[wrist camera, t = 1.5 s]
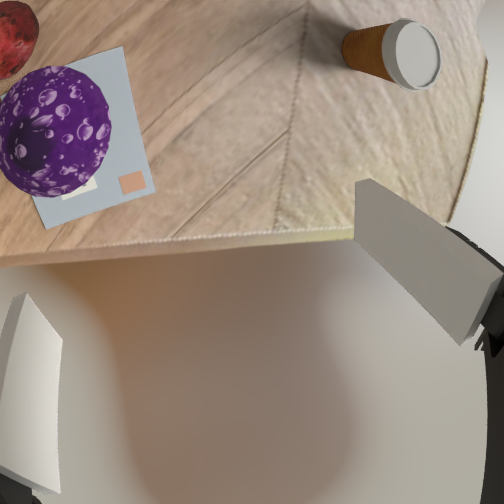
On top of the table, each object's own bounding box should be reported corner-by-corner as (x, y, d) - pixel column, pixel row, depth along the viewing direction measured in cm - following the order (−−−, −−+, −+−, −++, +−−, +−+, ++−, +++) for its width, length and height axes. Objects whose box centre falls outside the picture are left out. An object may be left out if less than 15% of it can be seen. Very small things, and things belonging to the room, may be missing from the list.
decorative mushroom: (82, 45, 24) (44, 29, 13) (139, 125, 32) (137, 157, 20) (5, 118, 25) (-60, 151, 13) (62, 189, 32) (29, 254, 21)
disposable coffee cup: (350, 91, 38) (409, 107, 29) (320, 35, 32) (380, 32, 23) (391, 65, 38) (451, 76, 28) (366, 12, 32) (428, 9, 22)
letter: (1, 96, 23) (0, 96, 23) (122, 46, 26) (122, 45, 26) (46, 228, 34) (46, 230, 34) (155, 191, 38) (156, 192, 37)
